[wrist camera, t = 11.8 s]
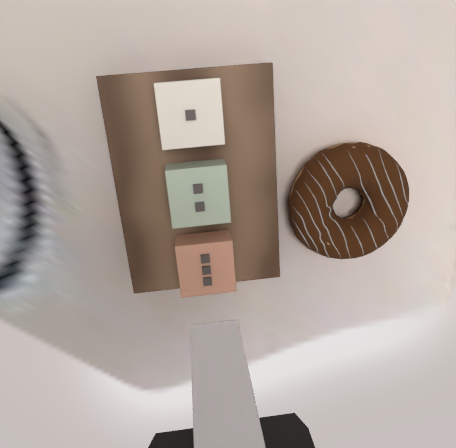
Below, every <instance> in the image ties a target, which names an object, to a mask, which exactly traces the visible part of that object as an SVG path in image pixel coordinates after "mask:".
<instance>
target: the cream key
mask: <svg viewBox="0 0 456 448" xmlns="http://www.w3.org/2000/svg"><path fill="white" fill-rule="evenodd" d="M154 90H155V98H156V106H157V113H158V121H159V129H160V137H161V144H162V150H169V149H180V148H191V147H202V146H213V145H224V144H225V136H224V123H223V110H222V97H221V84H220V78H208V79H195V80H183V81H170V82H158V83H154Z"/></svg>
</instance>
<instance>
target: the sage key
mask: <svg viewBox="0 0 456 448" xmlns="http://www.w3.org/2000/svg"><path fill="white" fill-rule="evenodd" d="M165 175H166V183H167V191H168V198H169V206H170V214H171V222H172V229H175V228H184V227H194V226H203V225H213V224H222V223H231V215H230V202H229V188H228V175H227V164H226V162H225V160H224V159H214V160H203V161H192V162H182V163H171V164H166V168H165Z"/></svg>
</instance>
